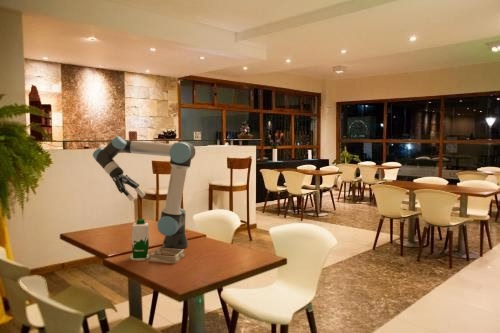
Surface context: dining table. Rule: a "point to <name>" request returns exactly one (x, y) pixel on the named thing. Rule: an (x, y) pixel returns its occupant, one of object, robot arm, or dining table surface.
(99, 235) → the dining table surface
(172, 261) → the dock
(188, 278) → the dining table surface
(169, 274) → the dining table surface
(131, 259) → the pale green disc
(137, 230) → the soya milk
